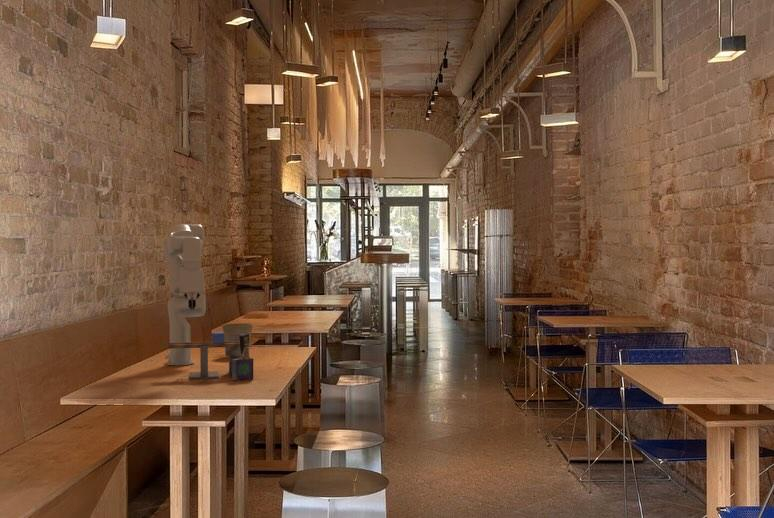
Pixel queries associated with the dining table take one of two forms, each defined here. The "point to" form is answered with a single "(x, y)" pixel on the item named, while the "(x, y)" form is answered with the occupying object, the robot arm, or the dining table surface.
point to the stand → (204, 366)
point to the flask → (242, 369)
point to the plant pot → (236, 330)
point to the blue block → (218, 338)
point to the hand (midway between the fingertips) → (192, 309)
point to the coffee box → (241, 343)
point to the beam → (210, 346)
